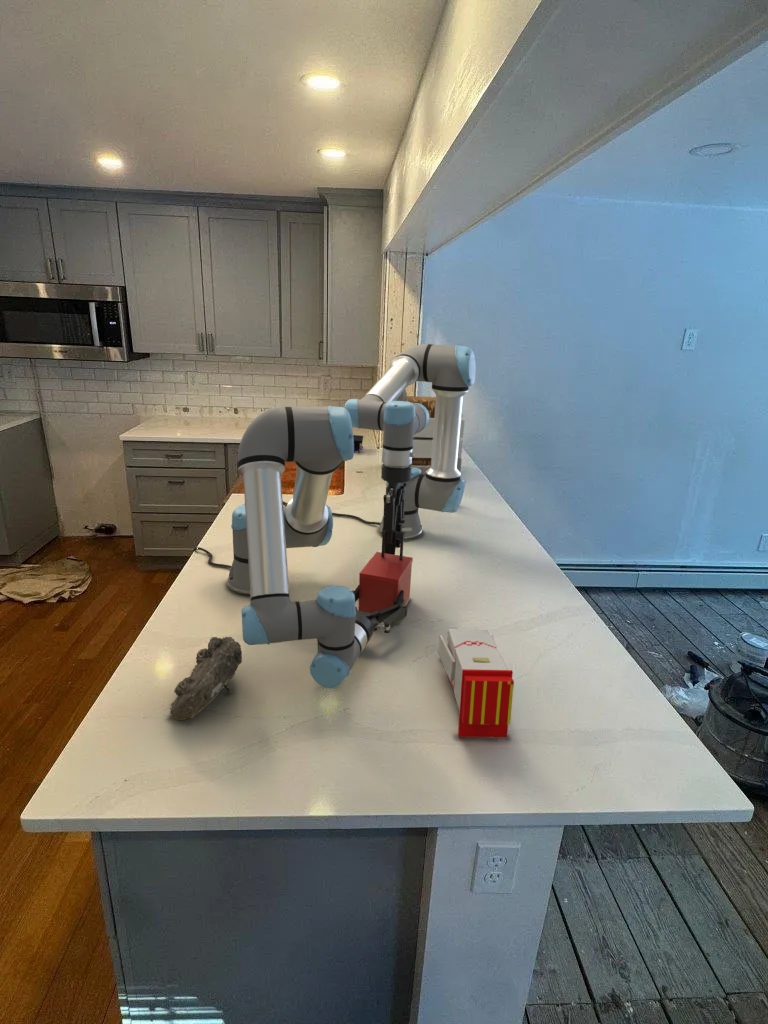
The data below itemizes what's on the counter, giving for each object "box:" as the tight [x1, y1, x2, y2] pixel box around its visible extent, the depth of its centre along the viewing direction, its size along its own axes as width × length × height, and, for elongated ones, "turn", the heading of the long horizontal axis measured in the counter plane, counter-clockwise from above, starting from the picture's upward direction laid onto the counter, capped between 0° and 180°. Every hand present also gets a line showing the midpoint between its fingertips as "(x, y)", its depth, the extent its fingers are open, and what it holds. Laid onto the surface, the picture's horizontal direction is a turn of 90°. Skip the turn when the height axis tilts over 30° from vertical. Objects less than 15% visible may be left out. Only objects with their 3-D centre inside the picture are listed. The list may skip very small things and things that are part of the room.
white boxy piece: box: [396, 389, 465, 474], centre depth 268 cm, size 34×33×41 cm
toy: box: [437, 628, 515, 738], centre depth 117 cm, size 12×13×30 cm
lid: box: [359, 530, 414, 584], centre depth 146 cm, size 14×10×9 cm
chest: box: [357, 562, 413, 613], centre depth 149 cm, size 14×10×11 cm
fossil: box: [169, 636, 243, 721], centre depth 114 cm, size 22×10×15 cm
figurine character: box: [353, 434, 364, 454], centre depth 311 cm, size 7×8×15 cm
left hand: (381, 591), depth 145 cm, fingers closed on chest, 10 cm apart
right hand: (392, 549), depth 150 cm, fingers open, 4 cm apart
